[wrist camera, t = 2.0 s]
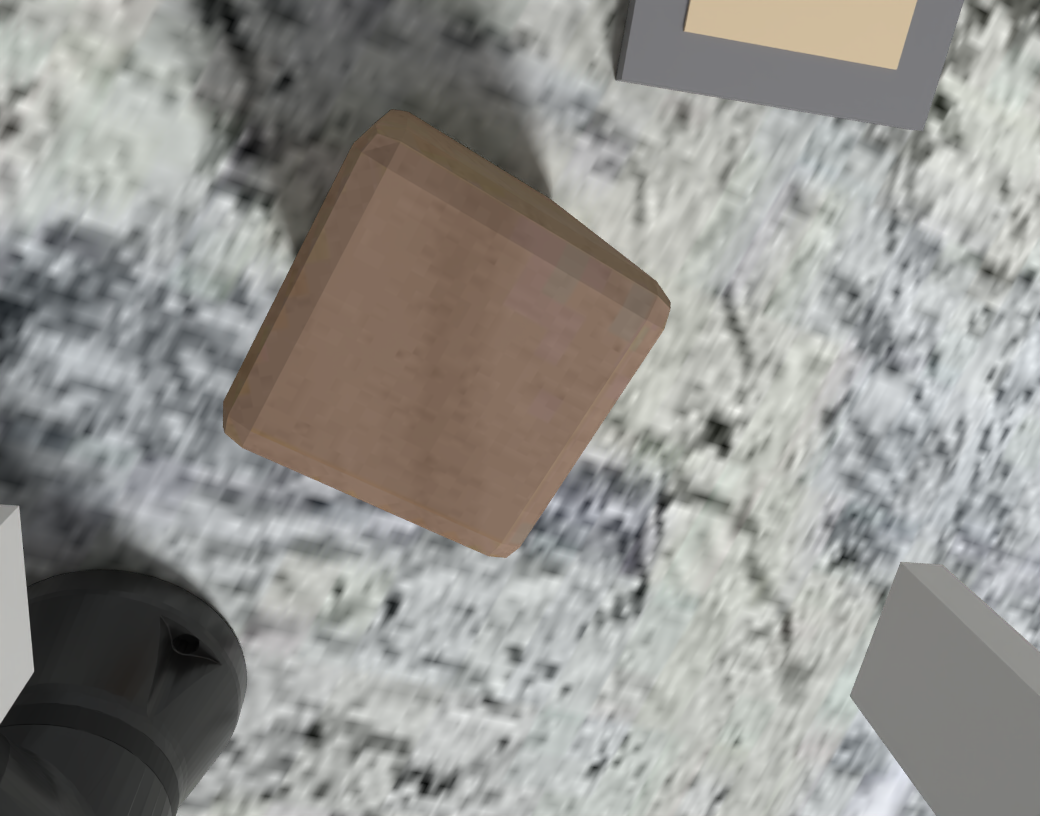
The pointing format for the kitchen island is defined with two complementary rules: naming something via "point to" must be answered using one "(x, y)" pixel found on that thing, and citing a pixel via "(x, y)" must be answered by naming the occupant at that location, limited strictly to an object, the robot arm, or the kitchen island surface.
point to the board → (796, 53)
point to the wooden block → (443, 341)
